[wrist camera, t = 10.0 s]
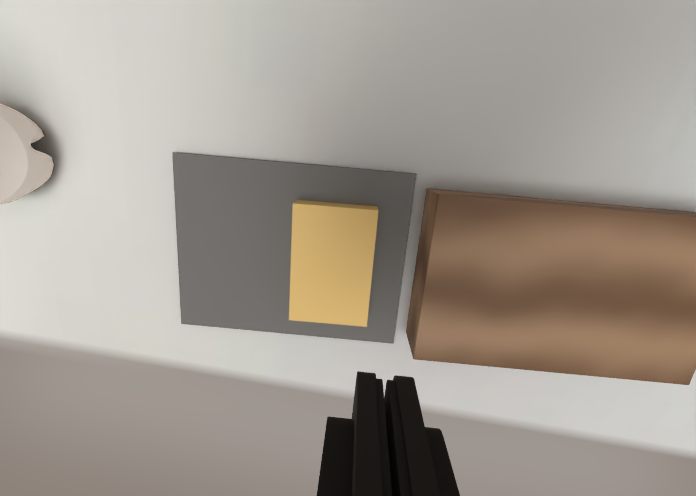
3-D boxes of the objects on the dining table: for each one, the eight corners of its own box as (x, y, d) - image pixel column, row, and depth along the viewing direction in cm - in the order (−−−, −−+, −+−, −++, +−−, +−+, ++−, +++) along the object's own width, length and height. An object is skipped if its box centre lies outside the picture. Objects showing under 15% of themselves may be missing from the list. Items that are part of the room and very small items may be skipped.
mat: (175, 152, 25) (172, 152, 25) (415, 173, 25) (416, 174, 25) (183, 321, 29) (181, 323, 28) (392, 340, 29) (393, 343, 28)
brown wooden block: (426, 188, 25) (439, 194, 21) (694, 212, 25) (756, 222, 21) (406, 331, 28) (413, 359, 24) (643, 353, 28) (688, 384, 24)
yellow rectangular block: (378, 210, 23) (377, 206, 25) (292, 203, 23) (297, 199, 25) (366, 326, 26) (366, 314, 28) (288, 320, 26) (293, 308, 28)
